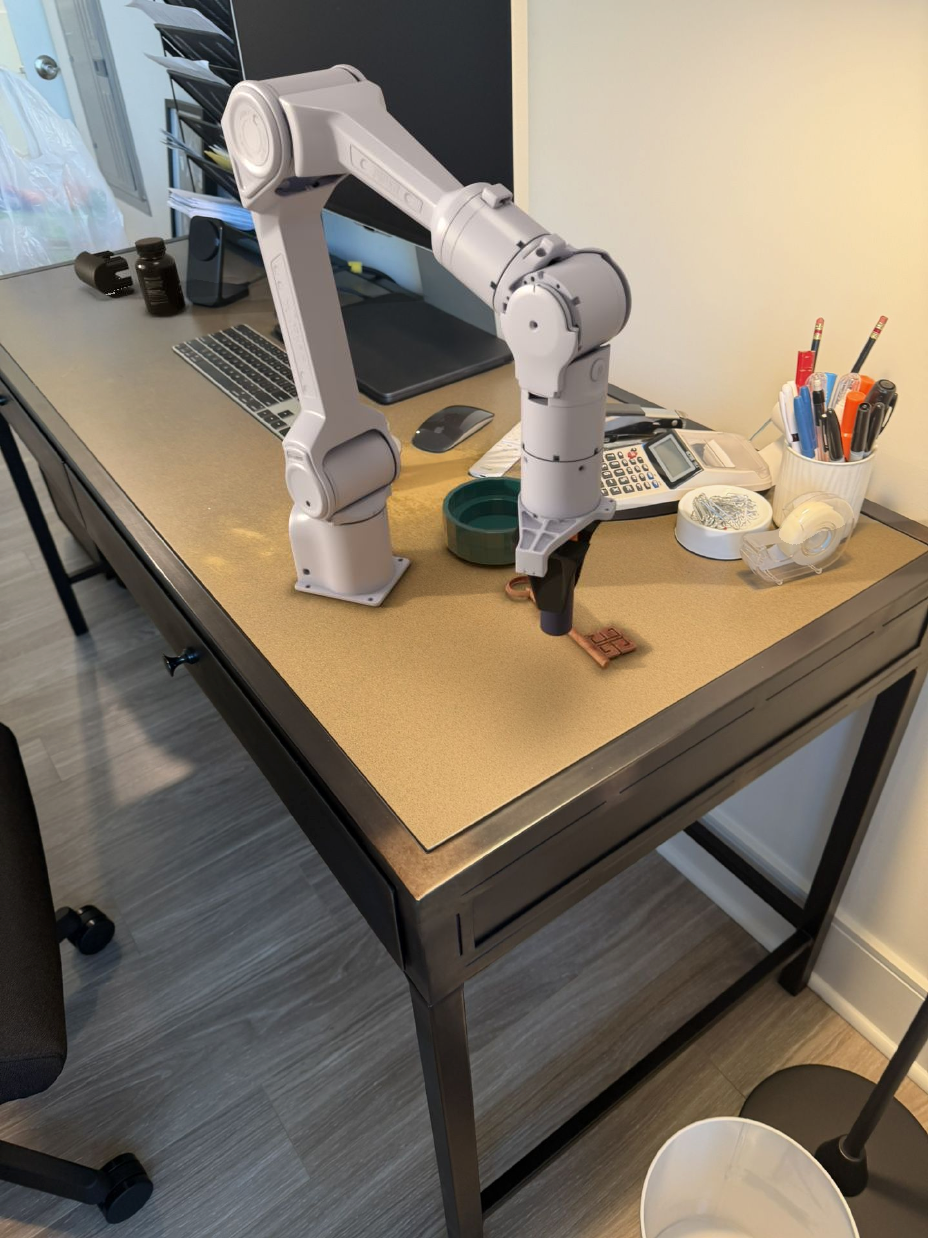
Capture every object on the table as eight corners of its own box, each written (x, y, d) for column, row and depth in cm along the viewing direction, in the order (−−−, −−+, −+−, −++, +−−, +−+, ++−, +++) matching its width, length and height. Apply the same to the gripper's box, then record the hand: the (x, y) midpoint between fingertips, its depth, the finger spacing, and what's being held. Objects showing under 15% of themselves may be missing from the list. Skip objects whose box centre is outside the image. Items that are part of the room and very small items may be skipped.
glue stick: (535, 633, 69) (536, 540, 63) (545, 613, 71) (547, 521, 65) (567, 639, 68) (571, 546, 63) (576, 619, 70) (581, 526, 64)
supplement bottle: (194, 307, 155) (177, 237, 147) (166, 319, 150) (147, 248, 143) (168, 302, 158) (150, 232, 150) (139, 313, 153) (119, 243, 146)
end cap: (80, 290, 165) (69, 254, 161) (115, 281, 169) (105, 245, 164) (100, 302, 159) (89, 264, 155) (136, 293, 163) (126, 256, 158)
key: (640, 655, 77) (547, 572, 87) (642, 647, 77) (548, 564, 87) (588, 674, 75) (498, 587, 85) (589, 666, 74) (499, 579, 84)
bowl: (429, 558, 90) (426, 522, 87) (466, 504, 98) (465, 470, 95) (531, 577, 87) (531, 540, 84) (561, 520, 95) (562, 484, 92)
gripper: (592, 504, 53) (582, 667, 61) (642, 405, 63) (627, 556, 72) (484, 487, 55) (489, 647, 63) (549, 393, 65) (546, 542, 74)
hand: (556, 598), depth 68 cm, fingers closed on glue stick, 2 cm apart
